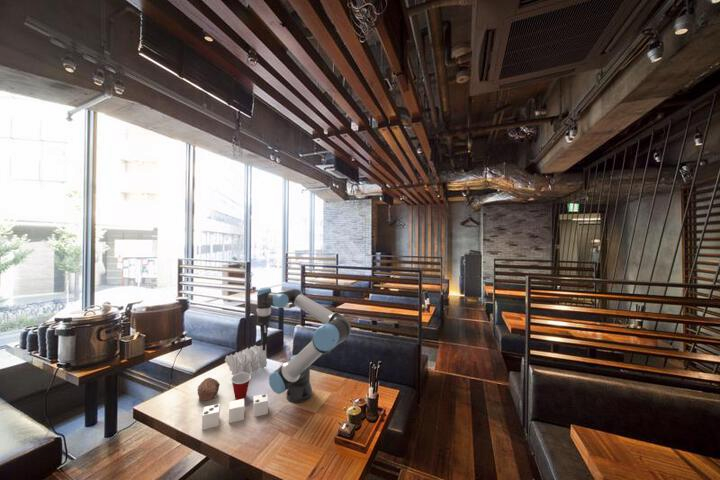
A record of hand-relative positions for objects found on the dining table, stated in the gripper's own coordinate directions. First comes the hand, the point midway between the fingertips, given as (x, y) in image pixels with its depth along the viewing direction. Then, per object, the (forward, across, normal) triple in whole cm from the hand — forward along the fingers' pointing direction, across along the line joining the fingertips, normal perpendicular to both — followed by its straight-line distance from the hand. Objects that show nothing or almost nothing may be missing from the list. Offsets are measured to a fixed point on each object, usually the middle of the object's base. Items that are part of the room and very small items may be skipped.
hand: (263, 355), depth 153 cm
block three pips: (+26, +10, -26) cm, 38 cm away
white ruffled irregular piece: (+25, -34, -6) cm, 43 cm away
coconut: (+25, -16, -29) cm, 41 cm away
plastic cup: (+26, -7, -12) cm, 29 cm away
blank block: (+26, +10, -14) cm, 31 cm away
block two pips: (+26, +11, -3) cm, 28 cm away
